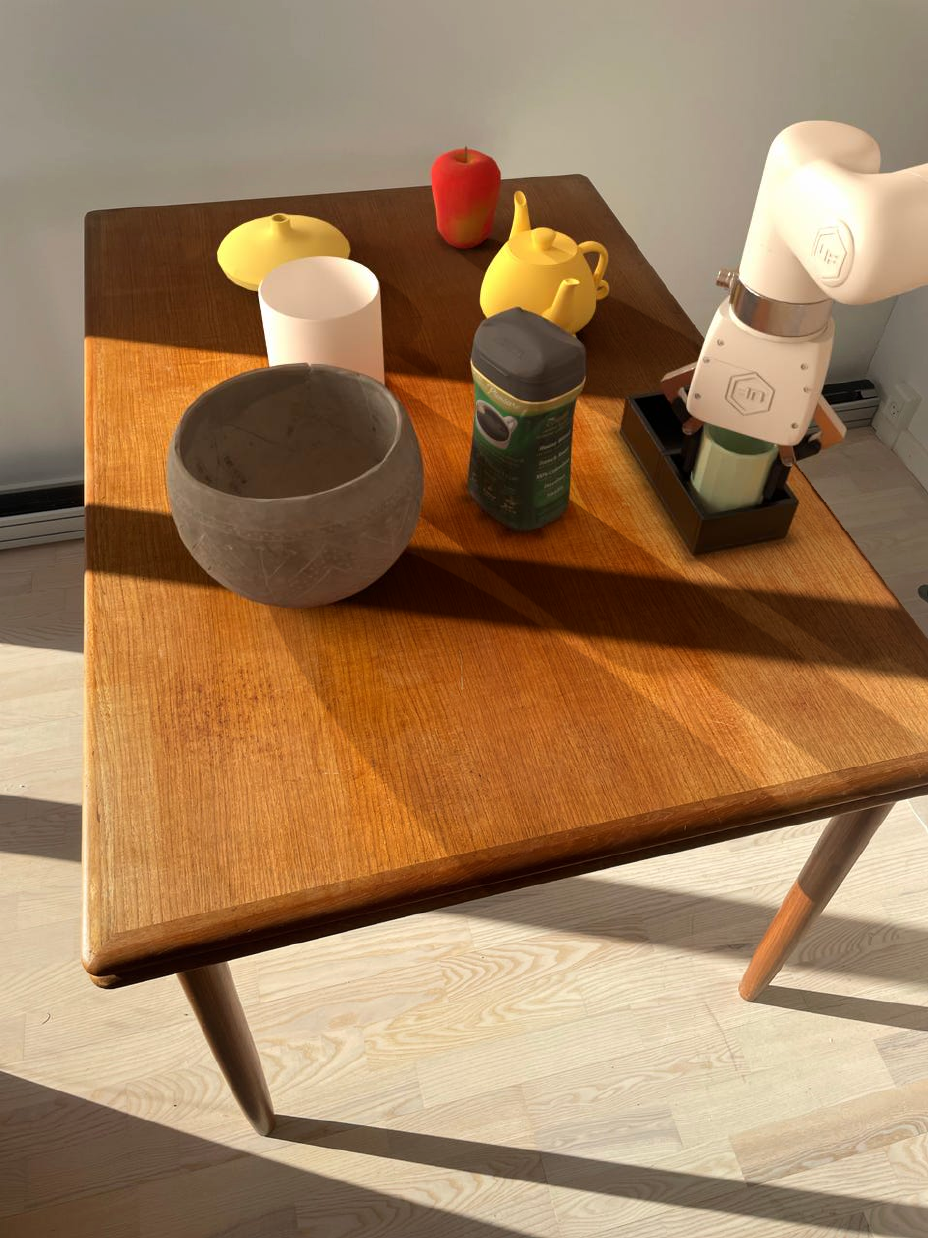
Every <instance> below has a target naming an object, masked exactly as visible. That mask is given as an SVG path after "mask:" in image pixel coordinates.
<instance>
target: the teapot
mask: <svg viewBox="0 0 928 1238" xmlns="http://www.w3.org/2000/svg"><path fill="white" fill-rule="evenodd" d="M590 252H597V253H599V258H598V263H597V266H596V268H595V271H594V272H592V270H591V268H590V264H589V263H588V261H587V259H586V257H585V255H584V254H586V253H590ZM608 263H609V253H608V250H607V248H606V247H605V246H604V244H601V243H599V242H598V241H594V240H589V241H588V240H587V241H584V242H581V243H579V244H577V242H576V241H575V240H574V239H573V238H571V237H570V236H568V235H566V234H564V233H562V232H559V231H555V230H554V229H552V228H549V227H536V228H534V229H532V227H531V221H530V216H529V209H528V202H527V199H526V195H525V194H524V192H522V191H521V190H517V191H515V193H514V217H513V222H512V227H511V232H510V235H509V237H508V240H507V241H506V242H505V243H504V245H503V246H502V247H501V249H500V250H499V251H498V252H497V254H496V255H495V256H494V257H493V259H492V261H491V262H490V265H489V266H488V268H487V270H486V272H485V275H484V278H483V281H482V284H481V289H480V297H479V304H480V308H481V310H482V313H483V315H484V316H485V318H486V319H487V318H489V317H491V316H493V315H495V314H498V313H500V312H503V311H506V310H508V309H511V308H514V307H521V308H522V309H523V310H527V311H530V312H533V313H535V314H538V315H540V316H542V317H544V318H546V319H548V320H549V321H551V322H552V323H554V324H556V325H557V326H559V327H561V328H562V329H564V330H565V331H567V332H568V333H569V334H571V335H572V336H574V337H575V338H577V335H576V333H578V332H579V331H580V330H582V329H583V328H584V327H585V326H586V325H587V324H589V322H590V321H591V319H592V318H593V316H594V314H595V312H596V308H597V301H601V300H602V299H605V298H606V297H607V296H608V295H609V292H610V285H609V283H608V282H607V281H606V280H604V279H603V277H604V275H605V273H606V270H607V267H608V265H609V264H608ZM599 288H600V289H599ZM577 339H578V338H577Z"/></svg>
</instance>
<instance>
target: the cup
mask: <svg viewBox="0 0 928 1238" xmlns="http://www.w3.org/2000/svg"><path fill="white" fill-rule="evenodd" d="M380 287H381V286H380V282H379V280H378V278H377V276H376V275H375V274H374V273H373V272H372V271H371V270H370V269H369V268H368V267H366V266H364V265H363V264H361V263H358V262H356V261H354V260H352V259H349V258H348V259H343V258H338V257H329V256H316V257H307V258H301V259H297V260H293V261H290V262H287V263H284V264H282V265H280V266H278V267H277V268H275V269H273V270H272V271H271V272H270V273H268V274H267V275H266V277H265V278H264V279H263V280H262V282H261V284H260V287H259V292H258V300H259V307H260V311H261V313H260V314H261V320H262V327H263V332H264V339H265V345H266V351H267V357H268V364H269V367H270V366H276V365H282V364H293V363H308V364H309V366H310V365H311V364H326V365H331V366H335V367H340V368H344V369H348V370H351V371H355V372H358V373H359V374H360V373H362V374H365V375H367V376H370V377H372V378H373V379H375V380H377V381H379V382H381V383H382V384H383V385H384V386H385V385H386V383H385V366H384V365H385V363H384V346H383V345H384V344H383V327H382V325H383V324H382V323H383V322H382V305H381V303H382V302H381V288H380ZM385 387H386V386H385Z"/></svg>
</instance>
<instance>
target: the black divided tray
mask: <svg viewBox="0 0 928 1238" xmlns="http://www.w3.org/2000/svg"><path fill="white" fill-rule="evenodd" d="M690 387H691V385H686V386H683V388H684V391H685V392H687V393H688V394H689V390H690ZM682 426H683V425H682V423H681V422H680V420H679V419H678V417H677V416H676V414H675V413H674V412H673V410H672V408H671V403H670V401H668V399H667V398H666V396H665V394H664V393H663V391H662V389H661V390H656V391H649V392H644V393H637V394H629V395H626V396H625V400H624V406H623V410H622V417H621V423H620V428H619V434H620V436H621V437H622V439H623V441H624V443H625V444H626V446H627V448H628V449H629V451H630V453H631V454H632V456H633V458H634V460H635V461H636V463H637V465H638V466H639V468H640V470H641V472H642V473H643V475H644V476H645V478H646V480H647V482H648V483H649V485H650V486H651V488H652V489H653V491H654V493H655V495H656V497H657V498H658V500H659V502H660V504H661V505H662V507H663V508H664V510H665V513H667V515H668V518H670V520H671V522H672V523H673V525H674V527H675V529H676V530H677V533H678V534H679V535H680V537H681V539H682V540H683V542H684V544H685V545H686V547H687V549H688V550H689V552H690V554H691V555H692V556H693V557H695V556H700V555H705V554H710V553H716V552H721V551H725V550H731V549H736V548H741V547H747V546H751V545H757V544H761V543H767V542H772V541H777V540H781V539H786V538H787V536H788V532H789V530H790V527H791V525H792V522H793V521H794V520H793V519H794V517H795V514H796V513H797V509H798V507H799V504H800V500H799V498H798V497H797V496H796V494H795V493H794V492H793V491H792V489H791V487H789V485H788V483H786V484H785V486H784V488H783V489H781V488H778V487H776V488H775V490H774V492H773V494H772V496H771V499H767V498H765V497H764V500H763V503H762V504H759V505H753V506H748V507H743V508H737V509H732V510H727V511H721V512H716V513H711V514H706V513H705V511H704V510H703V508H702V507H701V505H700V503H699V502H698V500H697V499H696V497H695V495H694V494H693V492H692V491H691V489H690V488H689V486H688V485H689V481H690V477H691V473H692V471H691V472H690V471H689V472H685V471H683V467H684V463H685V458H686V457H683V456H680V453H681V449H682V445H683V441H684V437H685V433H684V432H683V431H682Z"/></svg>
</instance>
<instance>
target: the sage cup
mask: <svg viewBox="0 0 928 1238" xmlns="http://www.w3.org/2000/svg"><path fill="white" fill-rule="evenodd" d="M778 454H779V450H778V445H777V444H773V443H770V442H767V441H763V440H760V439H757V438H753V437H750V436H747V435H744V434H740V433H737V432H734V431H731V430H728V429H725V428H721V427H718V426H715V425H712V424H709V423H706V422H705V424H704V425H703V429H702V433H701V438H700V442H699V446H698V450H697V454H696V457H695V461H694V465H693V469H692V473H691V477H690V481H689V485H688V486H689V488H690V489H691V491H692V492H693V494H694V495H695V497H696V499H697V500H698V502H699V503H700V505H701V507H702V508H703V510H704V511H705V513H706V514H711V513H716V512H721V511H727V510H732V509H737V508H743V507H748V506H753V505H759V504H762V503H763V500H764V497H765V496H763V493H764V490H765V487H766V484H767V481H768V478H769V475H770V472H771V469H772V466H773V464H774V462H775V459H776V458H777V456H778Z"/></svg>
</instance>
